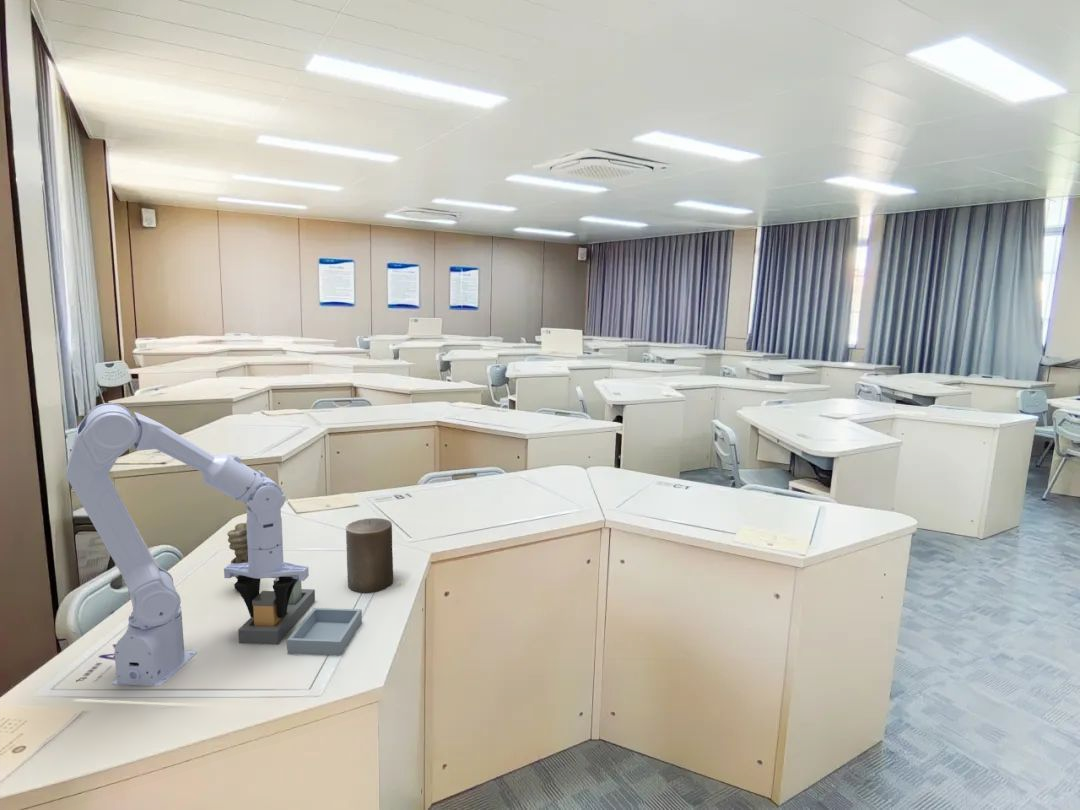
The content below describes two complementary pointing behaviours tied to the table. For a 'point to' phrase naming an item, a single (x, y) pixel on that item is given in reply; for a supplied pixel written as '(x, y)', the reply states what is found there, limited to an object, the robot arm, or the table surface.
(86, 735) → the table surface
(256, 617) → the block
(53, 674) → the table surface
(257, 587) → the robot arm
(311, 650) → the parts tray
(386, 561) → the pillar candle
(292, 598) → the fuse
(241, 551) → the light bulb
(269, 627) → the block
